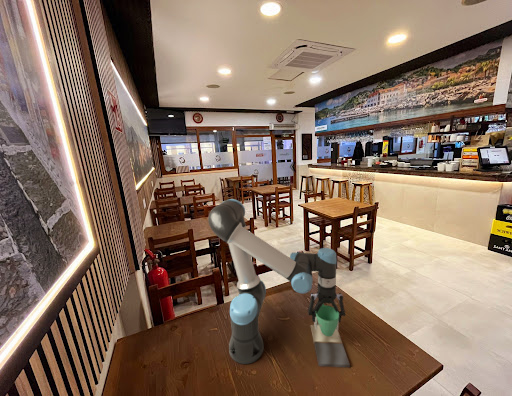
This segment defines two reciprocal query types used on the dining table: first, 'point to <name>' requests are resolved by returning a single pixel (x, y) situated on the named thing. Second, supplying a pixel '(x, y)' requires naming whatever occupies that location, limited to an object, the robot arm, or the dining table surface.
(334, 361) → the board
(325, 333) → the mug
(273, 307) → the dining table surface
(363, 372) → the dining table surface
